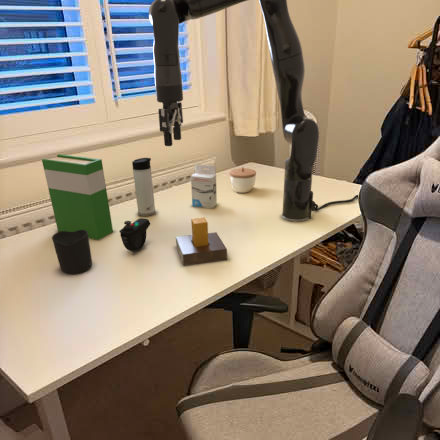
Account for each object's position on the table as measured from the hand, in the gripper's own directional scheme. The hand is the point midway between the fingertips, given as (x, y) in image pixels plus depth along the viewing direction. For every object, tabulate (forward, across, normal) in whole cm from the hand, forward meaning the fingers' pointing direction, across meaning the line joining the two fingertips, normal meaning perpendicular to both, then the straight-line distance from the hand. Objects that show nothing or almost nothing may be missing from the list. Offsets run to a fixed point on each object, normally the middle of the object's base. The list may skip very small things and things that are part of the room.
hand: (173, 142), depth 133 cm
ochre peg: (+29, -15, -11) cm, 34 cm away
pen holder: (+29, -30, +21) cm, 47 cm away
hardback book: (+29, -5, +32) cm, 43 cm away
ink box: (+29, +26, -2) cm, 39 cm away
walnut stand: (+29, -15, -11) cm, 34 cm away
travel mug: (+29, +14, +17) cm, 37 cm away
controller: (+29, -15, +9) cm, 34 cm away
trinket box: (+29, +46, -12) cm, 56 cm away
